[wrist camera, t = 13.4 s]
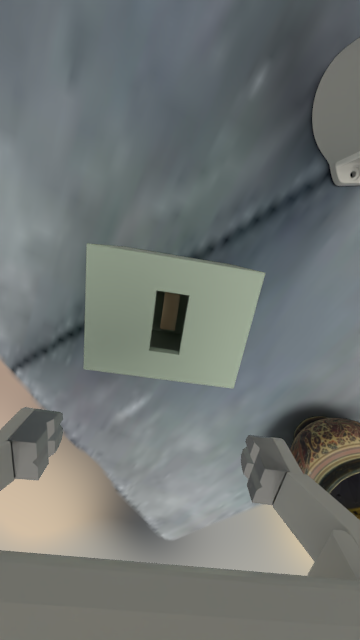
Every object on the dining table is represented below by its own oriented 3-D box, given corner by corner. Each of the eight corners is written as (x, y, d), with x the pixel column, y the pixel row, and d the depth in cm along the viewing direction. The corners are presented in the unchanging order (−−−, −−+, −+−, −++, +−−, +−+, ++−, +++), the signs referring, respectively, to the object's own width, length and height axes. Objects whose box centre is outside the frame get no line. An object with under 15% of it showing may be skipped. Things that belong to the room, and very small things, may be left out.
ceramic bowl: (267, 461, 52) (306, 548, 40) (245, 427, 43) (287, 524, 31) (366, 421, 49) (444, 502, 36) (365, 375, 40) (467, 460, 27)
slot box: (231, 264, 35) (265, 273, 22) (214, 342, 39) (233, 388, 26) (122, 246, 34) (86, 243, 21) (116, 327, 38) (83, 369, 25)
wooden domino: (179, 285, 35) (180, 294, 27) (175, 314, 37) (174, 330, 29) (167, 283, 35) (165, 292, 27) (163, 312, 36) (160, 328, 29)
